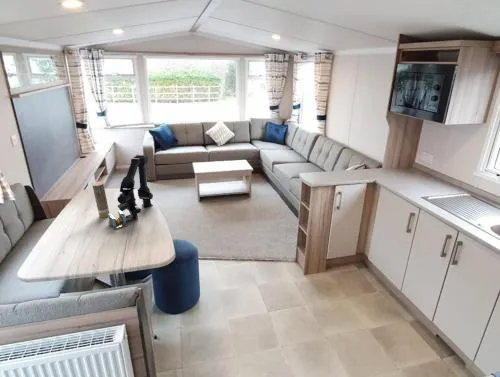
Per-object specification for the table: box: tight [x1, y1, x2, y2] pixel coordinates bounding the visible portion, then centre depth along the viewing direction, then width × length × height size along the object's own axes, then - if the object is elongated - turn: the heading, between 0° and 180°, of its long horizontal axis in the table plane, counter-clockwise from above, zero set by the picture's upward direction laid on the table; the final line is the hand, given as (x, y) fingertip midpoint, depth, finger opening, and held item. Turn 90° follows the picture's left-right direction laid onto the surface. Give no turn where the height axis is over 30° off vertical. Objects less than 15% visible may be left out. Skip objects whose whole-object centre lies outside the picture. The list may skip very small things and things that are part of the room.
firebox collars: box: [108, 209, 128, 231], centre depth 207 cm, size 14×8×7 cm, turn 38°
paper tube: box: [92, 181, 110, 219], centre depth 215 cm, size 7×7×25 cm
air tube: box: [108, 214, 139, 227], centre depth 210 cm, size 18×4×4 cm, turn 128°
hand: (133, 218), depth 215 cm, fingers closed on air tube, 4 cm apart
